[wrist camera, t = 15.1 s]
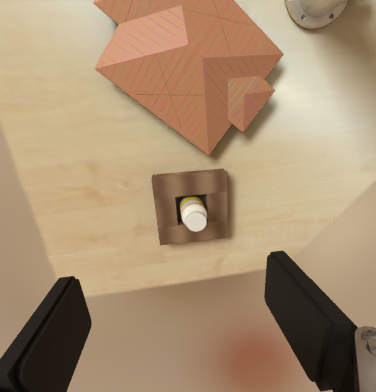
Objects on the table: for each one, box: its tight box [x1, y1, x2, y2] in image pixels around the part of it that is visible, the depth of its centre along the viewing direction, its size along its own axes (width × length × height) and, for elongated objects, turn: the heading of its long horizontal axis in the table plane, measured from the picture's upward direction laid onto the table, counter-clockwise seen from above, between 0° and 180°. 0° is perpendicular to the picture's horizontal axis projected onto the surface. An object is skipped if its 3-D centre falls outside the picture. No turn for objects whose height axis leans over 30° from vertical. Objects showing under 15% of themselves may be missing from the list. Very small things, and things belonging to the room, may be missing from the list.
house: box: [94, 0, 283, 156], centre depth 35 cm, size 23×33×8 cm
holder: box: [152, 169, 227, 245], centre depth 46 cm, size 16×16×4 cm
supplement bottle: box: [180, 195, 207, 232], centre depth 43 cm, size 5×5×10 cm
